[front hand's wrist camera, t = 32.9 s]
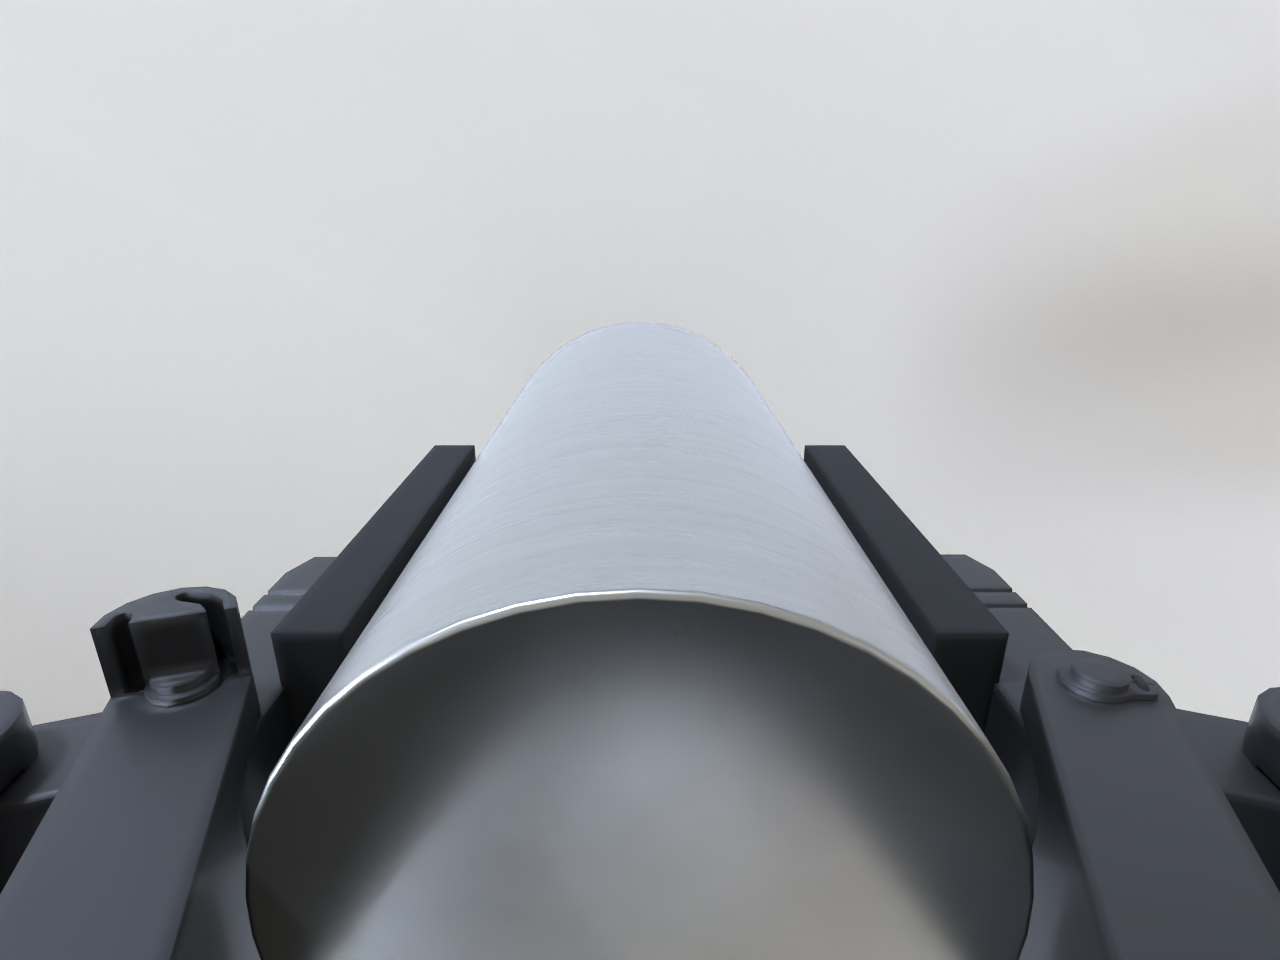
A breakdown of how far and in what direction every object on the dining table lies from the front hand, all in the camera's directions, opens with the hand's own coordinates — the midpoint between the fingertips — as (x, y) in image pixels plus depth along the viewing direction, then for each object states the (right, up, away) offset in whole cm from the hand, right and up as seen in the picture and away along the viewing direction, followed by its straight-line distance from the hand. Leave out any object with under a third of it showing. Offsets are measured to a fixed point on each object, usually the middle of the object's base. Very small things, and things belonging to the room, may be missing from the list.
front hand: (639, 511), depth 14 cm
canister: (0, +1, +3) cm, 4 cm away
